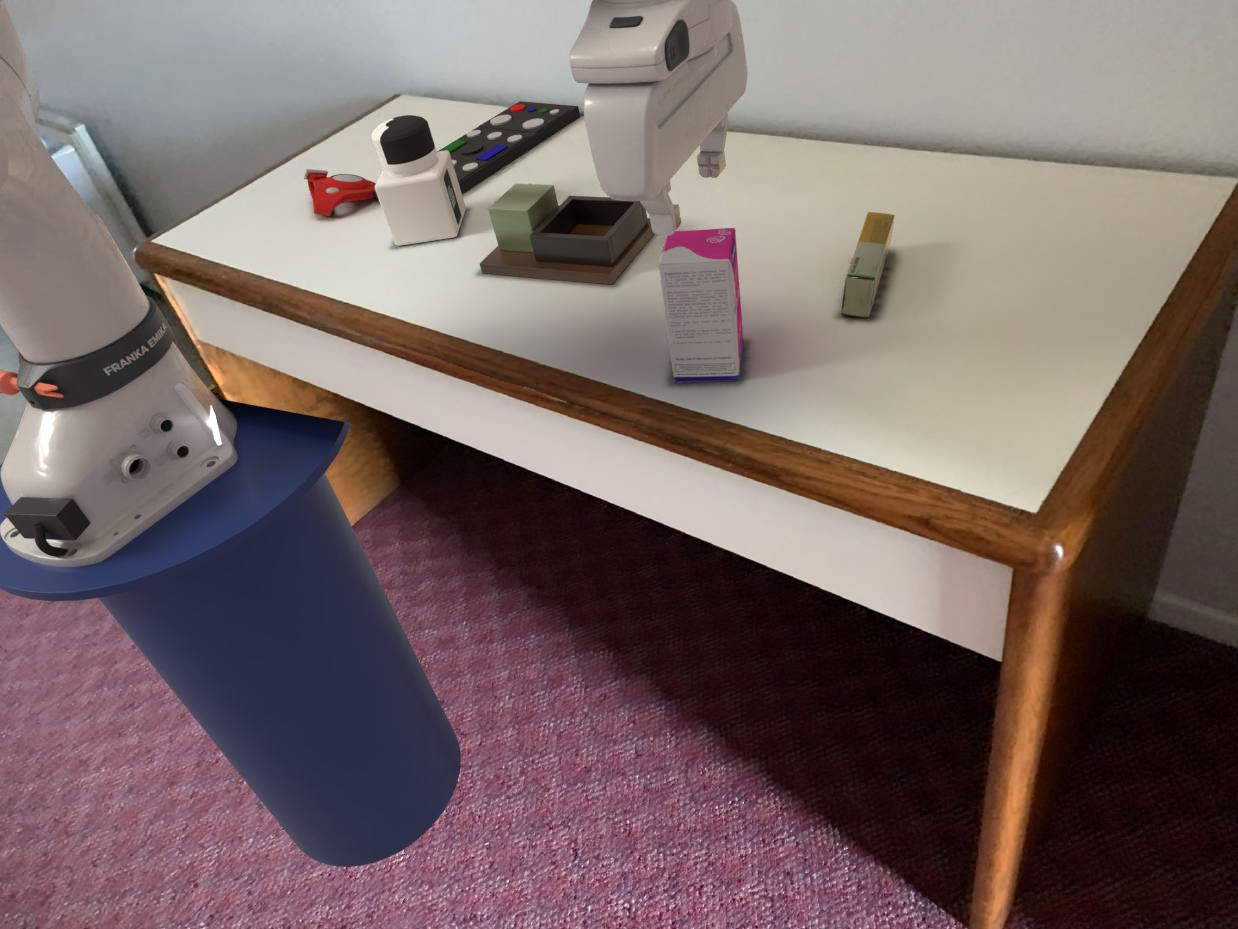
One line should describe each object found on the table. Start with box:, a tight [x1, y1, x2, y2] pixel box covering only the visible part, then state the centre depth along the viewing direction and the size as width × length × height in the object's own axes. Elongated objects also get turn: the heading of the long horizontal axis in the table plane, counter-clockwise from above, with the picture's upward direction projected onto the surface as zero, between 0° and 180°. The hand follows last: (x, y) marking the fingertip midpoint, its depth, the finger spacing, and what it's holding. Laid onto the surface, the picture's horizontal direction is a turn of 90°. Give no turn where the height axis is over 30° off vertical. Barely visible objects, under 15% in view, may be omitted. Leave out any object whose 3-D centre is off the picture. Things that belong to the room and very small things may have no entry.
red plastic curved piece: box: [303, 168, 377, 217], centre depth 123 cm, size 12×4×10 cm
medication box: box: [840, 211, 895, 319], centre depth 85 cm, size 12×3×4 cm, turn 160°
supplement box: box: [658, 227, 744, 384], centre depth 77 cm, size 6×6×12 cm
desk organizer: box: [479, 183, 655, 285], centre depth 100 cm, size 12×16×6 cm
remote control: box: [373, 100, 581, 202], centre depth 127 cm, size 11×30×2 cm, turn 144°
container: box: [370, 114, 467, 247], centre depth 108 cm, size 8×8×13 cm
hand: (691, 201), depth 71 cm, fingers open, 8 cm apart
